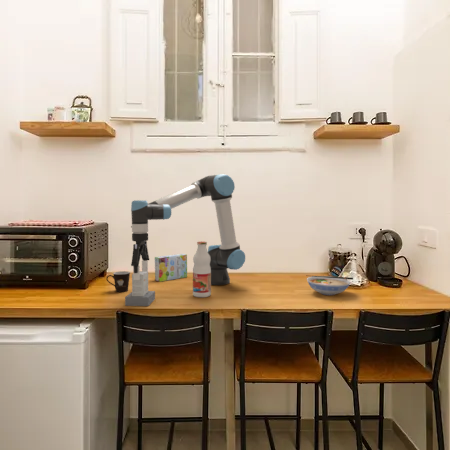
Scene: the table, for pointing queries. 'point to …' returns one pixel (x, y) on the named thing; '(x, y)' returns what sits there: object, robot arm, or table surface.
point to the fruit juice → (201, 271)
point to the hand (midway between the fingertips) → (140, 276)
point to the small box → (140, 284)
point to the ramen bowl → (329, 284)
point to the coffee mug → (120, 281)
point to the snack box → (170, 267)
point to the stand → (140, 299)
